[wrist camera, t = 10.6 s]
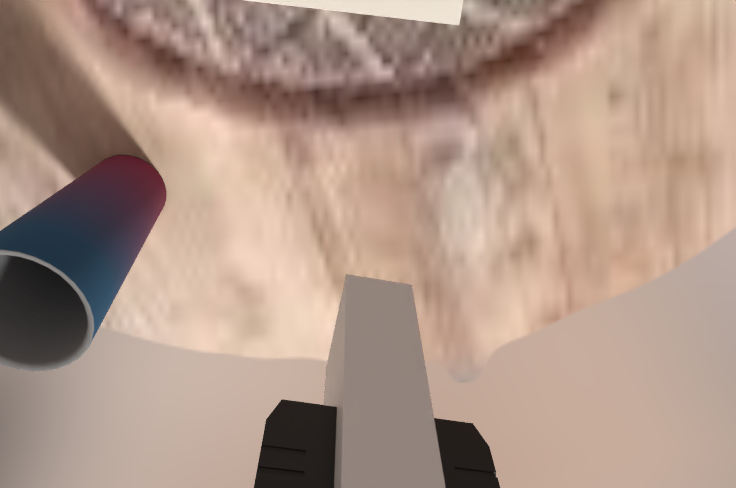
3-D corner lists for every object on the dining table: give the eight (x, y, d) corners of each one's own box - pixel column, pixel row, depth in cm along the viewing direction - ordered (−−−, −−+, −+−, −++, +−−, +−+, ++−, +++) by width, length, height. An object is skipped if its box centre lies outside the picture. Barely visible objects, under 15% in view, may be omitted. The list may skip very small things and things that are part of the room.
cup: (71, 138, 38) (-80, 245, 25) (175, 145, 38) (82, 254, 25) (86, 230, 41) (-40, 368, 28) (183, 235, 42) (103, 375, 28)
